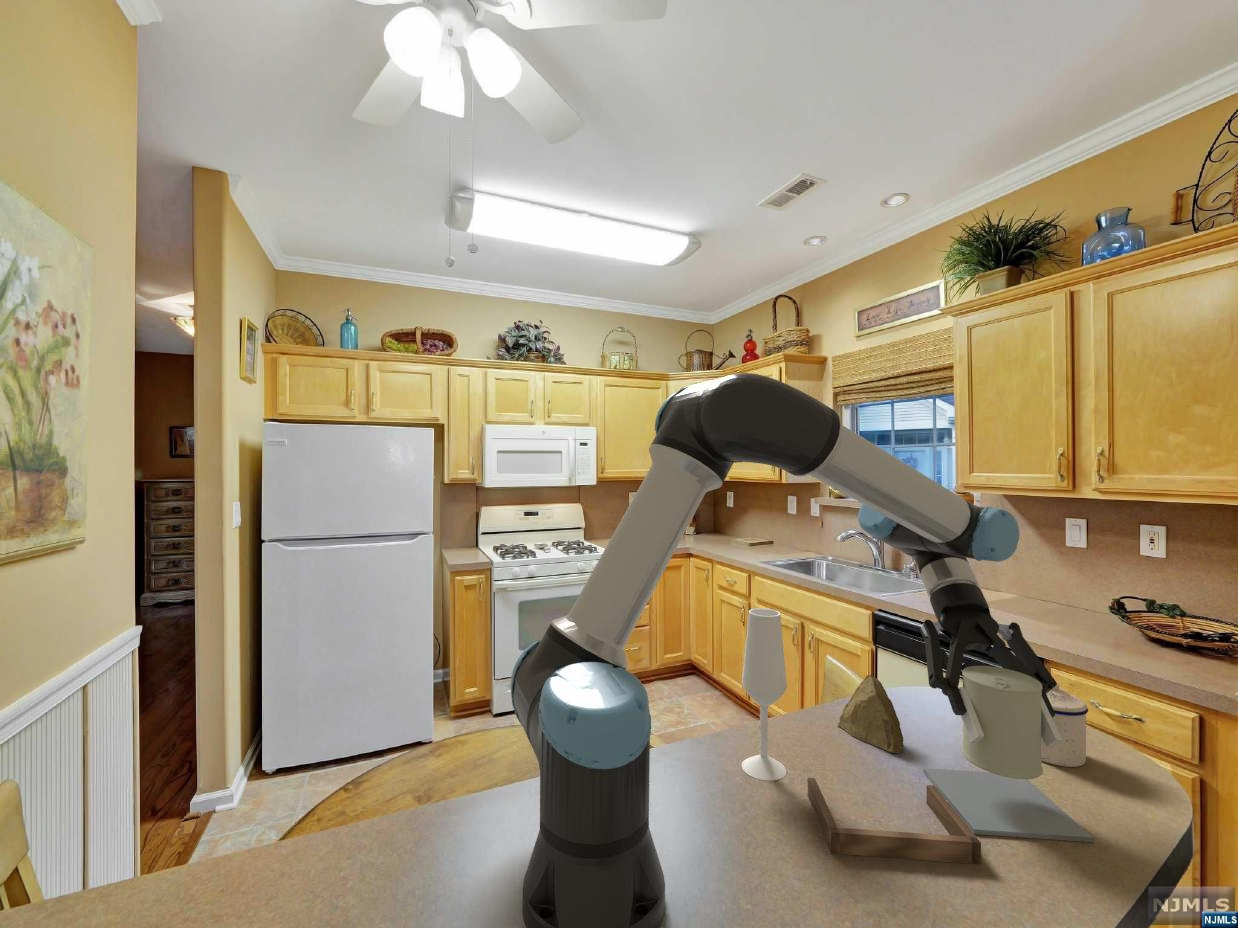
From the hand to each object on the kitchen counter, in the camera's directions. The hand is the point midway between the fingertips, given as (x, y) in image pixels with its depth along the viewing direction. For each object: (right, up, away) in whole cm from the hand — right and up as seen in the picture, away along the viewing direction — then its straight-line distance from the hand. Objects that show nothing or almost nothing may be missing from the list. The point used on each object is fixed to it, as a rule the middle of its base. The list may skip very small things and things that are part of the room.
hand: (1015, 741), depth 72 cm
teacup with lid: (+17, -10, +18) cm, 27 cm away
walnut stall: (-18, -10, -2) cm, 21 cm away
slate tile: (0, -10, +3) cm, 11 cm away
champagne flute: (-30, -10, +12) cm, 34 cm away
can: (0, -4, +3) cm, 6 cm away
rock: (-10, -10, +21) cm, 25 cm away
